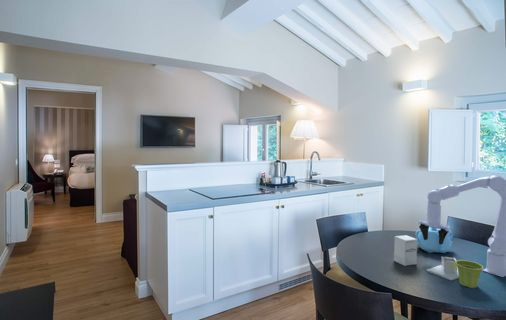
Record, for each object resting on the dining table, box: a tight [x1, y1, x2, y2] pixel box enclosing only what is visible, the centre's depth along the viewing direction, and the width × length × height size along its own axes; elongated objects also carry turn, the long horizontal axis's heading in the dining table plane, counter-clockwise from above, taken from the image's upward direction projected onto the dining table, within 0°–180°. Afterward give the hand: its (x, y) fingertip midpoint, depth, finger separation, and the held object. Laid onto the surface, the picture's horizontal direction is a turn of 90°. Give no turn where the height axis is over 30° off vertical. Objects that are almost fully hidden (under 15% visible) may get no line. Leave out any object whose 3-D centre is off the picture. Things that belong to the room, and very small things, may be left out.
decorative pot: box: [414, 227, 454, 254], centre depth 168 cm, size 16×16×14 cm
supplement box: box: [393, 234, 418, 267], centre depth 151 cm, size 7×7×13 cm
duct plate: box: [426, 260, 459, 281], centre depth 141 cm, size 18×11×5 cm, turn 119°
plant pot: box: [456, 259, 484, 289], centre depth 128 cm, size 9×9×9 cm
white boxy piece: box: [440, 256, 457, 273], centre depth 140 cm, size 5×5×5 cm
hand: (433, 241), depth 152 cm, fingers open, 7 cm apart
